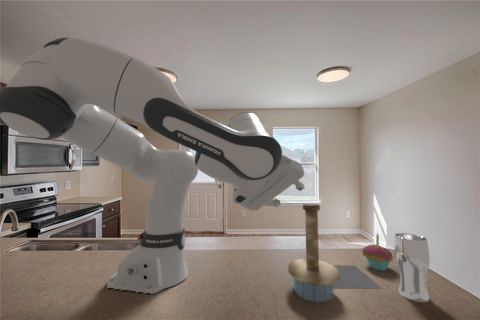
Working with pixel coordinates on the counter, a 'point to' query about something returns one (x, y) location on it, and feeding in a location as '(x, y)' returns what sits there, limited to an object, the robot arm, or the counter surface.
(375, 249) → the cupcake
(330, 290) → the bowl
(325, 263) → the brown piece
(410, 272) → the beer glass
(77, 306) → the counter surface
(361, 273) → the mat
